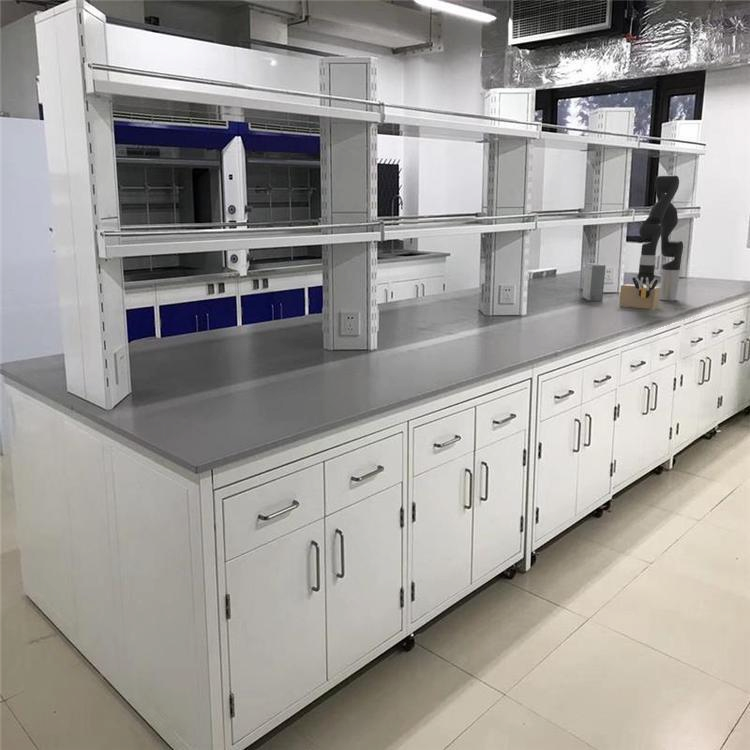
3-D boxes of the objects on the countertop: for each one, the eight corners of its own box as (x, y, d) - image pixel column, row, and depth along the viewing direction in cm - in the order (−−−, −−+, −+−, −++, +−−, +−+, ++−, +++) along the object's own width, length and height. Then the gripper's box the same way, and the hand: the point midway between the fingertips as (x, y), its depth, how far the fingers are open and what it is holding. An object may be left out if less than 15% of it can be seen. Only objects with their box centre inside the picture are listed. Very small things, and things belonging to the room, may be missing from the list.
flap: (620, 305, 383) (622, 284, 380) (650, 308, 373) (652, 287, 371) (616, 306, 379) (618, 285, 376) (647, 309, 370) (649, 288, 367)
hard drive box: (602, 301, 400) (606, 265, 395) (589, 301, 400) (592, 265, 395) (595, 297, 415) (598, 262, 410) (581, 297, 415) (584, 262, 410)
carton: (625, 304, 391) (627, 283, 388) (658, 307, 380) (660, 286, 377) (619, 306, 384) (620, 285, 381) (653, 309, 373) (655, 288, 370)
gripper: (663, 264, 365) (659, 297, 370) (636, 262, 374) (633, 295, 378) (658, 265, 360) (655, 299, 364) (631, 263, 368) (628, 296, 372)
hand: (643, 297), depth 371 cm, fingers closed on flap, 2 cm apart
